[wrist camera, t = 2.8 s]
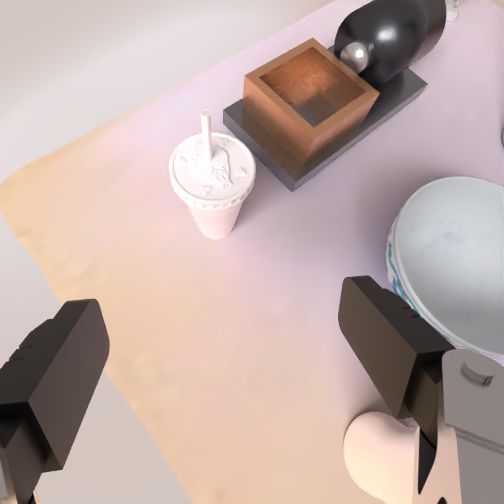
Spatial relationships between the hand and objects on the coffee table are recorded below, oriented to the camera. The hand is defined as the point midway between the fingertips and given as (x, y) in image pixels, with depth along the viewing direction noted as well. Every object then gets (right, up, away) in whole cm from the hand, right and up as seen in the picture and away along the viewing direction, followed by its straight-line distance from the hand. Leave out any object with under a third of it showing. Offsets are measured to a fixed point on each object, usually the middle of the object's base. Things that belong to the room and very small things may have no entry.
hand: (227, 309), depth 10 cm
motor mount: (+10, +20, +27) cm, 35 cm away
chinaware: (+19, -1, +21) cm, 28 cm away
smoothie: (-3, +5, +21) cm, 21 cm away
